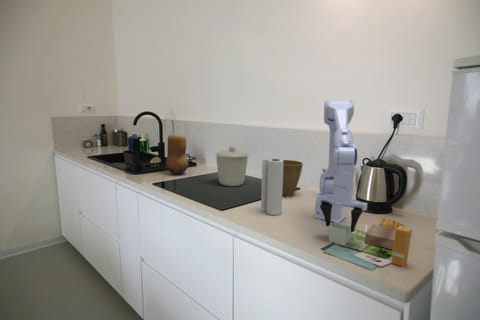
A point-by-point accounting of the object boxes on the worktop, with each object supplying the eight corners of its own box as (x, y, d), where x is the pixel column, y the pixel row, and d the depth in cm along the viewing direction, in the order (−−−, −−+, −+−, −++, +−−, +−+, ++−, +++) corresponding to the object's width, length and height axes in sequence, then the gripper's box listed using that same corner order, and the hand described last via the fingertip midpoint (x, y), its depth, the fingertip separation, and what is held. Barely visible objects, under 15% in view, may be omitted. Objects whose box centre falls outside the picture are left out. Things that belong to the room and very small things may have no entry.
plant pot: (279, 200, 142) (280, 165, 139) (264, 192, 156) (265, 160, 153) (307, 197, 147) (309, 163, 145) (290, 189, 161) (292, 158, 159)
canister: (250, 181, 178) (251, 144, 175) (245, 189, 161) (246, 148, 157) (219, 179, 181) (219, 143, 178) (211, 187, 164) (211, 147, 160)
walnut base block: (364, 243, 98) (365, 233, 97) (372, 233, 106) (372, 224, 105) (400, 251, 92) (401, 242, 92) (405, 240, 100) (406, 231, 100)
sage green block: (328, 241, 99) (329, 226, 98) (333, 236, 103) (334, 221, 102) (344, 245, 96) (345, 230, 95) (349, 240, 100) (350, 225, 99)
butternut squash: (192, 173, 198) (192, 133, 194) (180, 177, 186) (179, 135, 182) (174, 171, 203) (173, 132, 199) (161, 175, 191) (160, 133, 187)
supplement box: (404, 267, 83) (408, 231, 81) (390, 263, 85) (394, 228, 83) (408, 263, 85) (412, 228, 84) (394, 259, 87) (398, 224, 86)
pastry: (410, 232, 108) (411, 221, 107) (407, 238, 103) (408, 227, 102) (381, 225, 113) (381, 215, 113) (376, 231, 108) (377, 220, 107)
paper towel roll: (284, 213, 125) (286, 159, 121) (275, 216, 121) (277, 161, 117) (270, 208, 130) (272, 157, 126) (260, 212, 126) (262, 159, 122)
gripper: (315, 184, 97) (313, 226, 99) (364, 192, 89) (360, 237, 91) (323, 180, 103) (321, 220, 105) (370, 187, 95) (366, 230, 97)
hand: (340, 228), depth 99 cm, fingers open, 7 cm apart
